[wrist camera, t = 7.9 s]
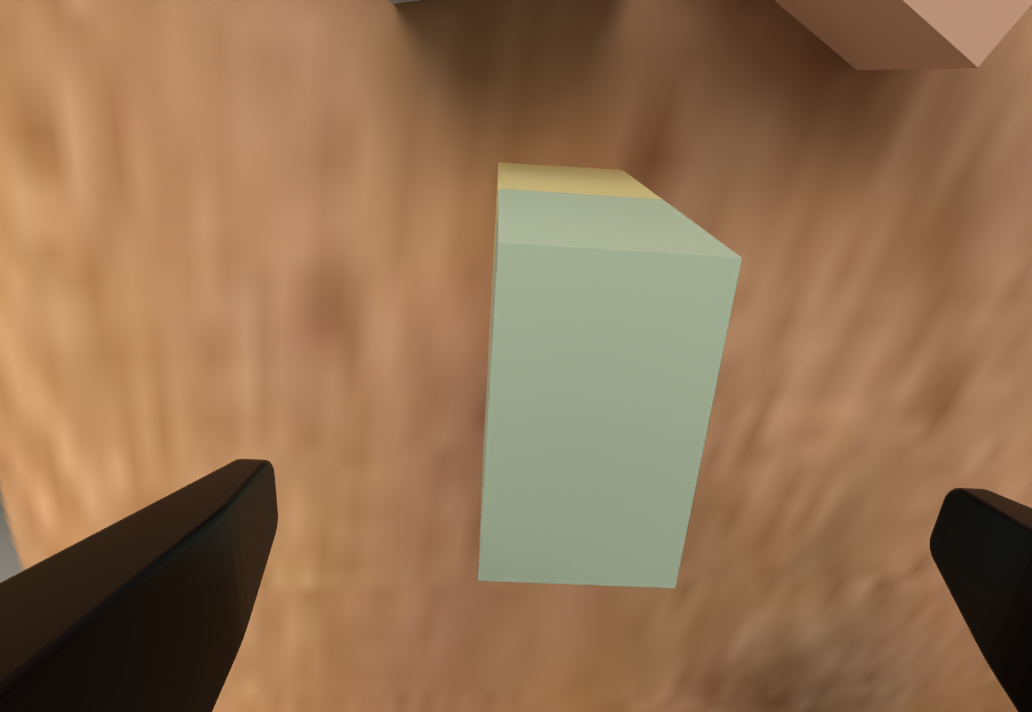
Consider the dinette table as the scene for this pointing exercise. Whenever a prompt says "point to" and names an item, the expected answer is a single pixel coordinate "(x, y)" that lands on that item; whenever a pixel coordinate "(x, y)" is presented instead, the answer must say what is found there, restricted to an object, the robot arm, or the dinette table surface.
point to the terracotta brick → (909, 30)
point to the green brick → (598, 386)
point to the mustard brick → (567, 183)
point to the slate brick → (401, 1)
